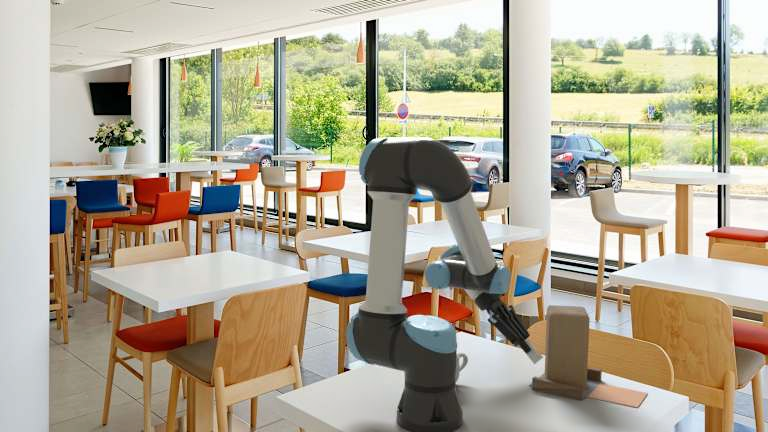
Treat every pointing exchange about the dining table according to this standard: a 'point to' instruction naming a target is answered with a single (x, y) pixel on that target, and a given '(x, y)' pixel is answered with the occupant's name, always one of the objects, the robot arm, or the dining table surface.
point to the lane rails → (565, 385)
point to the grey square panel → (590, 387)
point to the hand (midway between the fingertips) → (538, 360)
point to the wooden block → (567, 345)
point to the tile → (618, 395)
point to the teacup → (464, 363)
